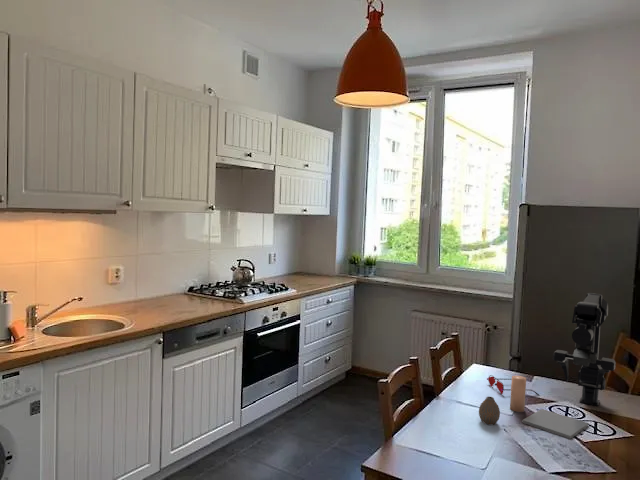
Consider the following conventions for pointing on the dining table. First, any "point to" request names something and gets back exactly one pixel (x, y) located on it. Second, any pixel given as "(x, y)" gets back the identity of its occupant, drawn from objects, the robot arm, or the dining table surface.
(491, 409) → the vase
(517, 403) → the tan cylinder
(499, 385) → the glasses
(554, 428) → the tile
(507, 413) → the dining table surface
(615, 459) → the dining table surface
